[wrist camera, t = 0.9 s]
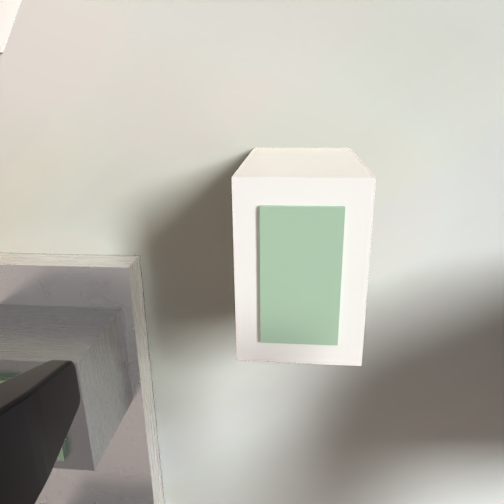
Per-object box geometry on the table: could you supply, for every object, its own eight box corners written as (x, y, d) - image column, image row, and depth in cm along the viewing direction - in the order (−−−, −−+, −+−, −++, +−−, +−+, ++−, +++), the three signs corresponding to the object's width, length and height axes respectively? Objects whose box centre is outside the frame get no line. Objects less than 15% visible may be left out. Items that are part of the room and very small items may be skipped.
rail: (139, 256, 22) (79, 318, 16) (172, 583, 29) (139, 710, 23) (-1, 253, 22) (-109, 312, 16) (66, 573, 30) (8, 694, 24)
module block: (349, 147, 19) (377, 178, 12) (342, 280, 21) (362, 368, 14) (254, 147, 20) (230, 177, 13) (255, 277, 22) (235, 363, 15)
